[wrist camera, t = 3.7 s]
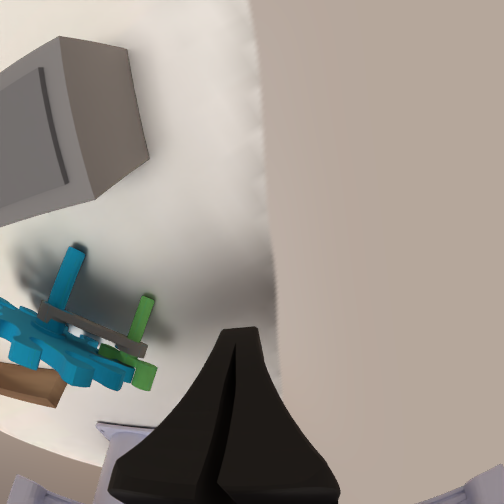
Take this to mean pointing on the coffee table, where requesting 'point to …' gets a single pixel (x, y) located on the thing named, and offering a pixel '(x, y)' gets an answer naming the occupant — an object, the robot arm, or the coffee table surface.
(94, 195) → the block
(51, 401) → the frame
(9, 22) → the coffee table surface
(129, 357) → the blue green toy construction
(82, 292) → the coffee table surface
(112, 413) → the coffee table surface
